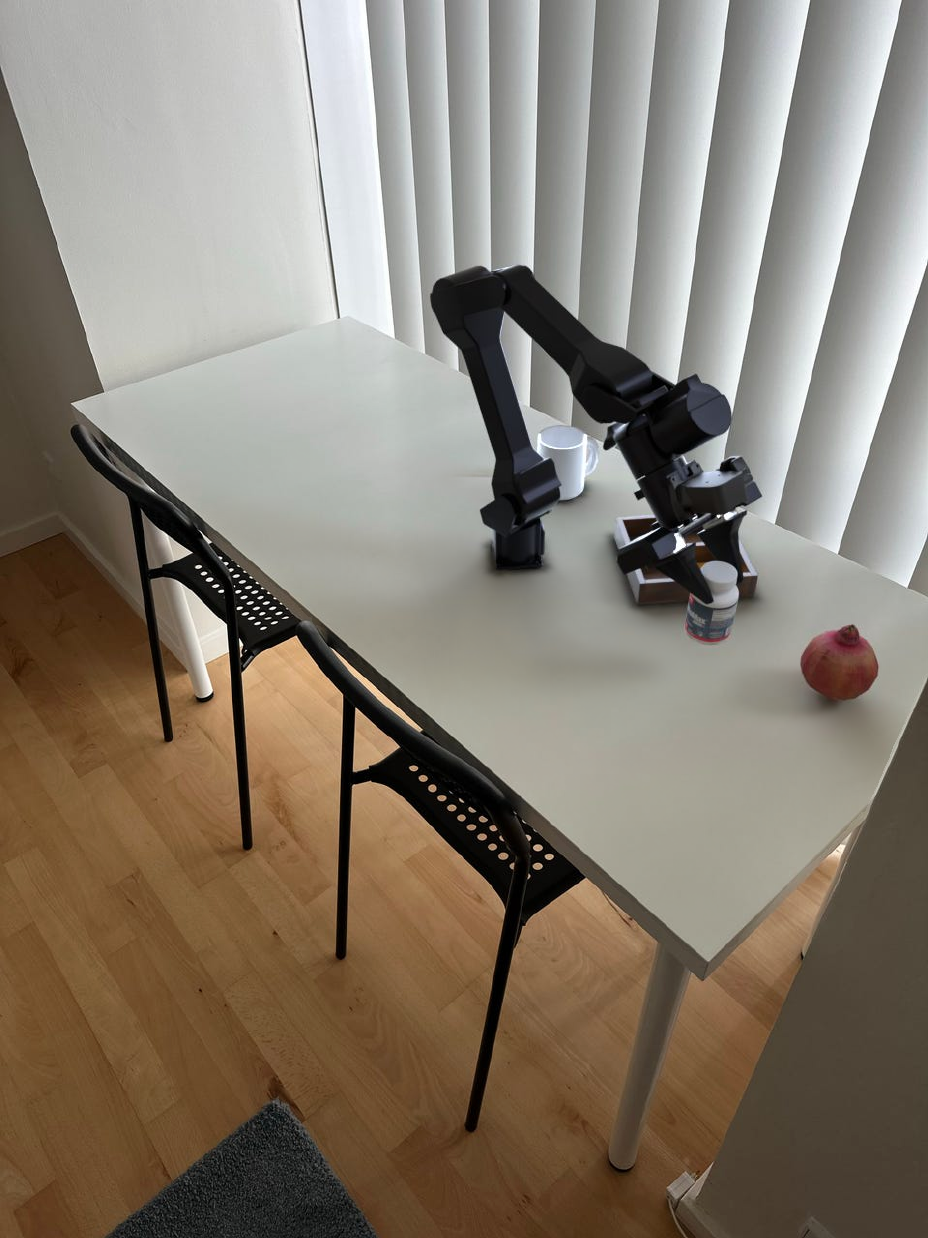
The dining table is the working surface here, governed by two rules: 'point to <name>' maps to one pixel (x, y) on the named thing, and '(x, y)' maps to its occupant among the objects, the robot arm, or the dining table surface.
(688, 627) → the pill bottle
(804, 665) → the fruit
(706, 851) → the dining table surface
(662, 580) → the divided tray
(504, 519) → the robot arm
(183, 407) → the dining table surface
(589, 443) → the cup
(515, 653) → the dining table surface
